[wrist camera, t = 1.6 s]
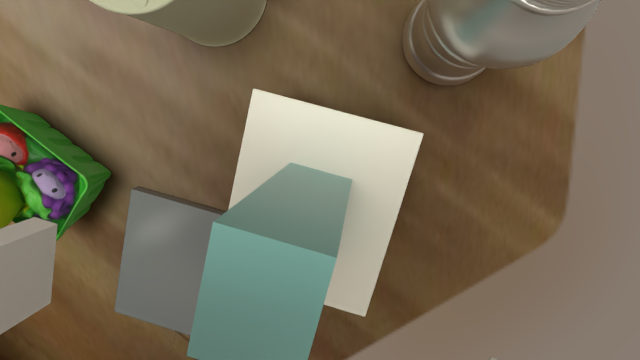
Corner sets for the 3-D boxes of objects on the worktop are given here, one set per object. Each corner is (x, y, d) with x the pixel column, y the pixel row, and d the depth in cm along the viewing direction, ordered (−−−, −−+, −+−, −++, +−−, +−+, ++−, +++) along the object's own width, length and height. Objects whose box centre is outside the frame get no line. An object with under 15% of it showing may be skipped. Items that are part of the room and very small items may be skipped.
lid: (365, 299, 27) (362, 508, 13) (227, 258, 28) (86, 414, 14) (418, 131, 24) (488, 168, 10) (263, 89, 25) (130, 72, 11)
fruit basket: (130, 170, 35) (20, 201, 24) (86, 238, 37) (-34, 296, 26) (32, 93, 34) (-125, 89, 23) (-6, 166, 36) (-168, 194, 25)
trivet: (222, 338, 37) (218, 344, 36) (120, 306, 38) (114, 311, 37) (249, 218, 34) (245, 222, 33) (137, 186, 35) (131, 188, 34)
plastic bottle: (446, 104, 30) (594, 105, 10) (381, 51, 30) (408, -49, 10) (504, 36, 28) (804, -110, 9) (436, -20, 28) (590, -295, 9)
